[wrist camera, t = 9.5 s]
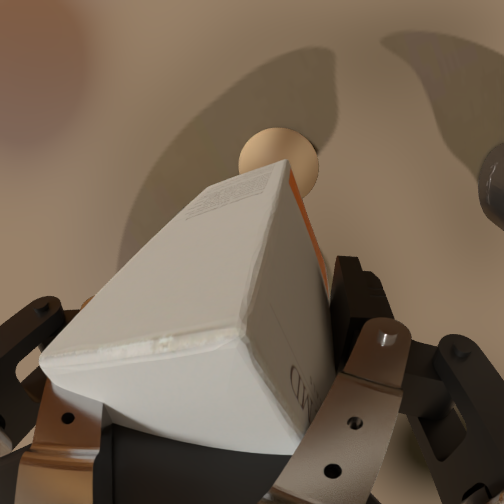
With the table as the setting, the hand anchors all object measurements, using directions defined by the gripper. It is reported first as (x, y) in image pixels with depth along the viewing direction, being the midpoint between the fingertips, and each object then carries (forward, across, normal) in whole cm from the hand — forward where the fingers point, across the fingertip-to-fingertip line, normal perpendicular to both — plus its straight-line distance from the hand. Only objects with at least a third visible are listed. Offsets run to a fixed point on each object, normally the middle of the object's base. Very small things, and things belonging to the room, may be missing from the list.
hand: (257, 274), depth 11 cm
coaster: (+18, 0, 0) cm, 18 cm away
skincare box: (+5, 0, 0) cm, 5 cm away
